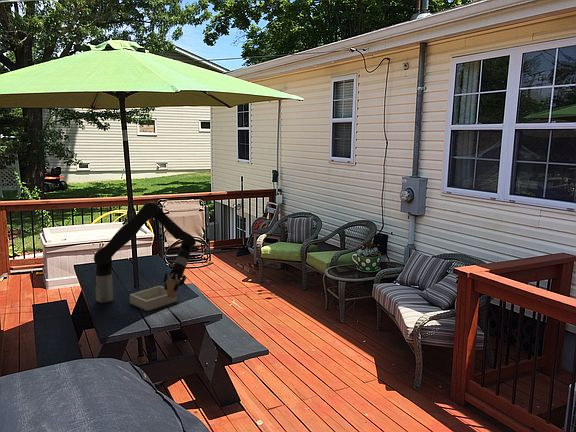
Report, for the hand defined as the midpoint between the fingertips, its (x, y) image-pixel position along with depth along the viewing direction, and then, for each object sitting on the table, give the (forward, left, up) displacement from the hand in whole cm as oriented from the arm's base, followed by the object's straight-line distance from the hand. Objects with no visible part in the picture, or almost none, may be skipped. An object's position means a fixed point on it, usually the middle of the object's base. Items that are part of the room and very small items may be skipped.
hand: (170, 290), depth 272 cm
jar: (+2, +1, -4) cm, 5 cm away
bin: (+1, +19, -13) cm, 22 cm away
